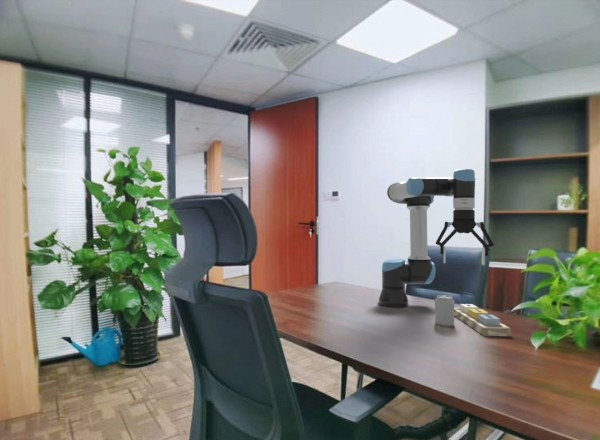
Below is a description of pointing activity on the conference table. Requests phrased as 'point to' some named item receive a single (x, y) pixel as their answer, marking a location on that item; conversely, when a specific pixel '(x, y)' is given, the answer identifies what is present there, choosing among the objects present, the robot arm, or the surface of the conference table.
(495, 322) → the tile
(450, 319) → the can
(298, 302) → the conference table surface
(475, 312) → the tile
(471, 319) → the frame
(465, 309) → the tile
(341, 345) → the conference table surface
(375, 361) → the conference table surface
